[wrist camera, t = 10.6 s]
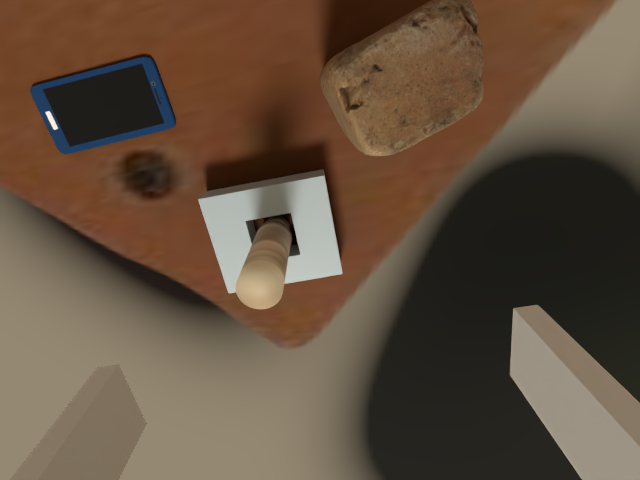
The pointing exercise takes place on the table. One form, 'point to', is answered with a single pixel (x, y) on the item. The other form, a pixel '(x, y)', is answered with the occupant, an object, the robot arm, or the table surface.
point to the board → (265, 201)
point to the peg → (265, 265)
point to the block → (407, 78)
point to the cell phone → (104, 105)
